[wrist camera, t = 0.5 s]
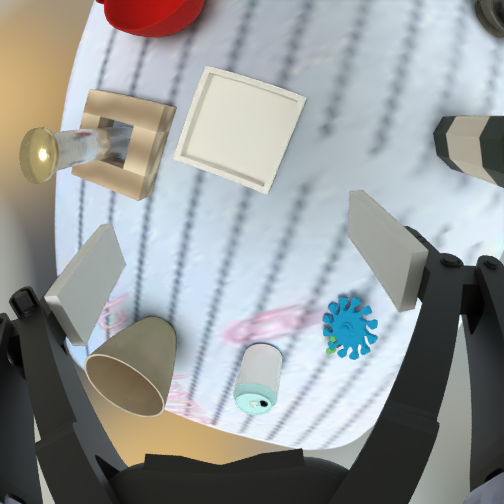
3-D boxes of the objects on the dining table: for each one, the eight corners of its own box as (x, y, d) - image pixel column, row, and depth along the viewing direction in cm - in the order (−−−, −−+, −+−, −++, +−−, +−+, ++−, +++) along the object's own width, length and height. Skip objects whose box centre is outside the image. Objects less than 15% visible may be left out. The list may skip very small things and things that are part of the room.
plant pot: (116, 326, 56) (75, 375, 42) (146, 285, 50) (98, 338, 36) (170, 369, 58) (141, 425, 44) (209, 337, 52) (181, 402, 38)
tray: (212, 69, 35) (205, 65, 32) (306, 100, 35) (306, 97, 32) (181, 157, 40) (173, 159, 38) (269, 190, 40) (267, 194, 38)
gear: (346, 283, 42) (386, 335, 36) (365, 280, 46) (402, 326, 40) (306, 327, 48) (339, 375, 42) (327, 321, 52) (358, 364, 46)
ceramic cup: (137, -20, 29) (104, -41, 20) (230, -18, 28) (211, -49, 19) (110, 44, 34) (71, 33, 25) (202, 53, 34) (173, 34, 25)
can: (262, 335, 50) (251, 385, 39) (290, 356, 51) (285, 407, 40) (237, 353, 53) (222, 402, 42) (264, 373, 54) (254, 422, 43)
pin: (116, 118, 39) (23, 124, 22) (146, 126, 39) (55, 133, 22) (107, 153, 42) (17, 175, 24) (136, 163, 42) (47, 190, 24)
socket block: (104, 90, 38) (89, 89, 34) (176, 107, 38) (164, 105, 34) (86, 169, 43) (71, 173, 40) (151, 194, 43) (138, 200, 40)
